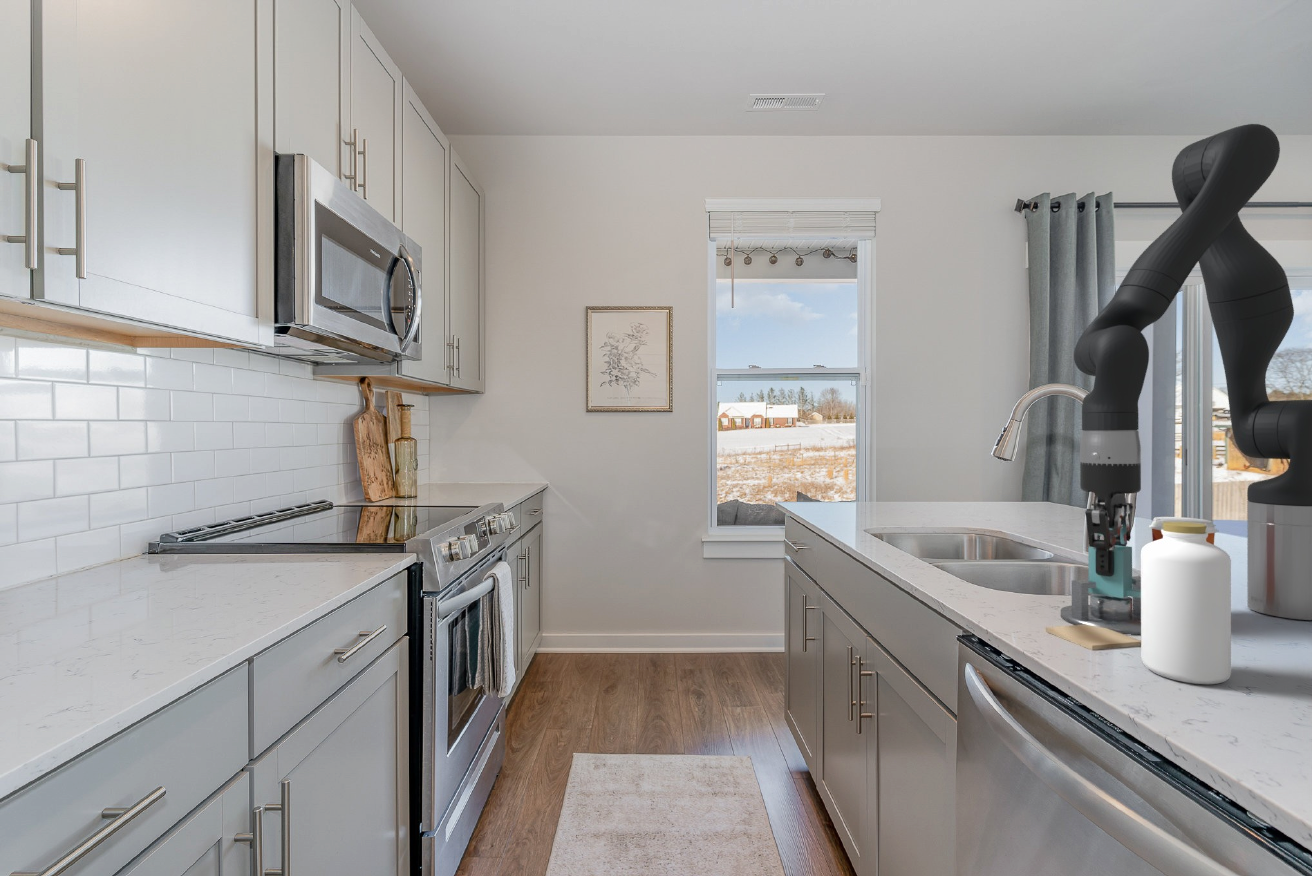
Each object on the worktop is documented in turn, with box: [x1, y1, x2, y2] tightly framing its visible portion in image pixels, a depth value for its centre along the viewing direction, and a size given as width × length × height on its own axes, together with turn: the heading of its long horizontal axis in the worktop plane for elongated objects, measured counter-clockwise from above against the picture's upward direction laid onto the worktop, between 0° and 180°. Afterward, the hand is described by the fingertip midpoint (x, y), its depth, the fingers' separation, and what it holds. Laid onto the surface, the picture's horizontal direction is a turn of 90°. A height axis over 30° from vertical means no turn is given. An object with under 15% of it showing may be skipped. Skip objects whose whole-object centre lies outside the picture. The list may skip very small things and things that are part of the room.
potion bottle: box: [1140, 522, 1232, 685], centre depth 77 cm, size 8×8×18 cm
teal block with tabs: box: [1088, 545, 1141, 598], centre depth 98 cm, size 9×4×7 cm, turn 40°
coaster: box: [1045, 624, 1141, 651], centre depth 91 cm, size 8×8×1 cm
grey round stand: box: [1060, 575, 1141, 636], centre depth 98 cm, size 13×13×6 cm
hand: (1110, 572), depth 98 cm, fingers closed on teal block with tabs, 4 cm apart
